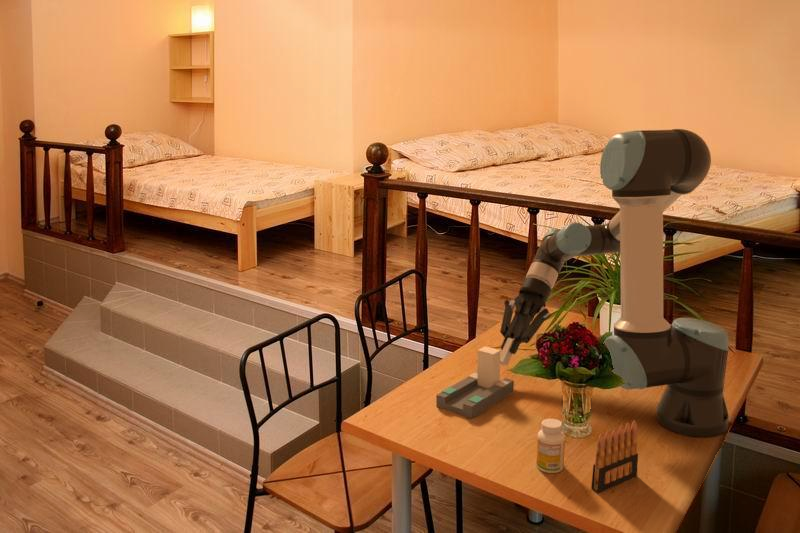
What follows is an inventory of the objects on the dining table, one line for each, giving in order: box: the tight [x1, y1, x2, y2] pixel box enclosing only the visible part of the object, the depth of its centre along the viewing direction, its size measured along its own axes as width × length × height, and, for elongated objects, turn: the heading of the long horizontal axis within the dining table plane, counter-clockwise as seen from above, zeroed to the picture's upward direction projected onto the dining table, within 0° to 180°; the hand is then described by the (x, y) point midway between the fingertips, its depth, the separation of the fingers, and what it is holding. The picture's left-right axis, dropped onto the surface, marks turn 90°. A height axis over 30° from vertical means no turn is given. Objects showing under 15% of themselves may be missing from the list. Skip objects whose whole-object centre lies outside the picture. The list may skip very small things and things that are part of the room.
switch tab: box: [477, 345, 502, 388], centre depth 187 cm, size 3×4×9 cm
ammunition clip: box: [590, 420, 639, 494], centre depth 147 cm, size 11×2×12 cm, turn 122°
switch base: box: [435, 371, 515, 419], centre depth 184 cm, size 18×10×3 cm, turn 140°
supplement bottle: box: [536, 418, 566, 474], centre depth 153 cm, size 5×5×10 cm
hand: (502, 363), depth 192 cm, fingers closed
